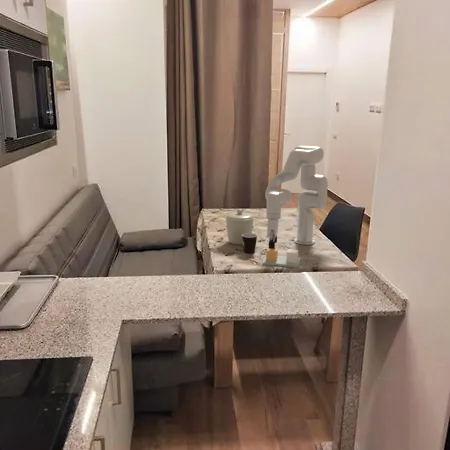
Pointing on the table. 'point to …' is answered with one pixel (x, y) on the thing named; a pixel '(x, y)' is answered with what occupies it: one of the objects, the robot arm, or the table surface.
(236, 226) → the canister
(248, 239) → the coffee mug
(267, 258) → the tan wooden cube
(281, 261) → the junction board
